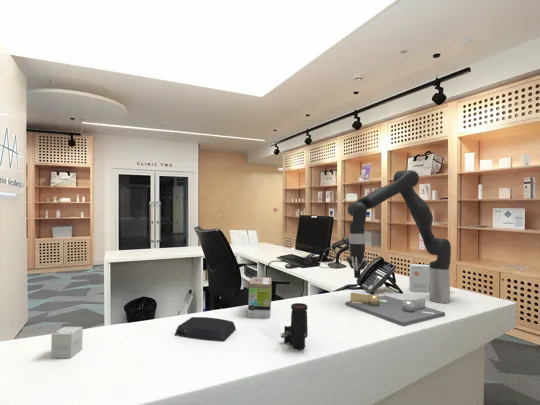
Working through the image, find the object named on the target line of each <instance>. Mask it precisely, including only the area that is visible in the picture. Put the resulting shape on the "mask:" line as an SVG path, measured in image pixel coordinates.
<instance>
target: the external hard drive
mask: <svg viewBox="0 0 540 405" xmlns="http://www.w3.org/2000/svg"><path fill="white" fill-rule="evenodd" d="M236 330H237V328H236V325H235V322H234V321H232V320H227V319H222V318H216V317H206V316H205V317H204V316H192V317H190V318H189V319H186V321H184V322H183V323H181V324H179V325H178V326H177V328H176V330H175V333H174V336H176V337H179V338H181V337H182V338H187V339H194V340H200V341H202V340H203V341H209V342H211V341H212V342H219V343H220V342H225V341H227V339H228V338H229V337H230V336H232V334H234V332H235V331H236Z"/></svg>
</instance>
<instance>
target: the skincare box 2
mask: <svg viewBox="0 0 540 405" xmlns="http://www.w3.org/2000/svg"><path fill="white" fill-rule="evenodd" d="M429 268H430V267H429V264H418V263H417V264H415V263H409V275H408V276H409V277H408V278H409V279H408V280H409V288H408V289H409V291H410V292H413V293H415V292H416V293H427V292H430V272H429Z"/></svg>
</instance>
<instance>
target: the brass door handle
mask: <svg viewBox="0 0 540 405" xmlns="http://www.w3.org/2000/svg"><path fill="white" fill-rule="evenodd" d="M379 296H380V295H379V294H366V293H358V292H350V301H353V302H360V303H367V304H369V305H374V306H378V305H379Z"/></svg>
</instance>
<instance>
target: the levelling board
mask: <svg viewBox="0 0 540 405" xmlns="http://www.w3.org/2000/svg"><path fill="white" fill-rule="evenodd" d="M378 296H379V305H378V306H374V305H369V304H367V303H360V302H353V301H351V300H348V301H345V303H344V304H345V306H347V307H351V308H353V309H355V310H358V311H361V312H364V313H365V314H366V313H367V314H369V315H371V316H375V317H378V318H380V319H383V320H385V321H388V322H391V323H393V324H396V325H398V326H401V327H406V326H410V325H414V324H417V323H421V322H425V321H430V320H434V319H438V318H441V317H445V316H446V312H445V311H441V310H438V309H434V308H431V307H428V306H425V308H420V309H416V310H415V311H414V312H408V311H404V310H403V300H404V299H399V298H396V297H391V296H389V295H385V294H384V295H378Z"/></svg>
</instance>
